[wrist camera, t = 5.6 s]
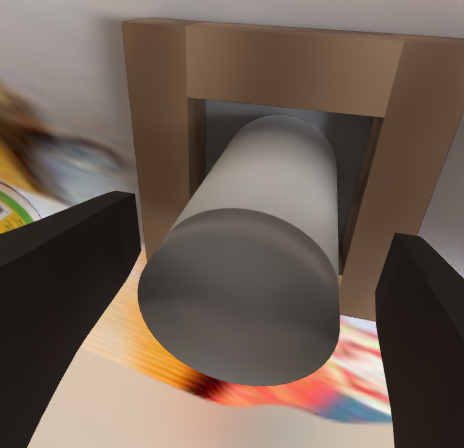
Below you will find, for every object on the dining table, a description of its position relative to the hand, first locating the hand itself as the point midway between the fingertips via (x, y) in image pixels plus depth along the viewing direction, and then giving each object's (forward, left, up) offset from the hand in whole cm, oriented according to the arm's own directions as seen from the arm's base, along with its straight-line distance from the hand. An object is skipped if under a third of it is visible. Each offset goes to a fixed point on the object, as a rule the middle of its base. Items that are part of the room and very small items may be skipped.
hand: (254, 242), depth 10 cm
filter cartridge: (0, 0, -5) cm, 5 cm away
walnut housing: (0, 0, -5) cm, 5 cm away
